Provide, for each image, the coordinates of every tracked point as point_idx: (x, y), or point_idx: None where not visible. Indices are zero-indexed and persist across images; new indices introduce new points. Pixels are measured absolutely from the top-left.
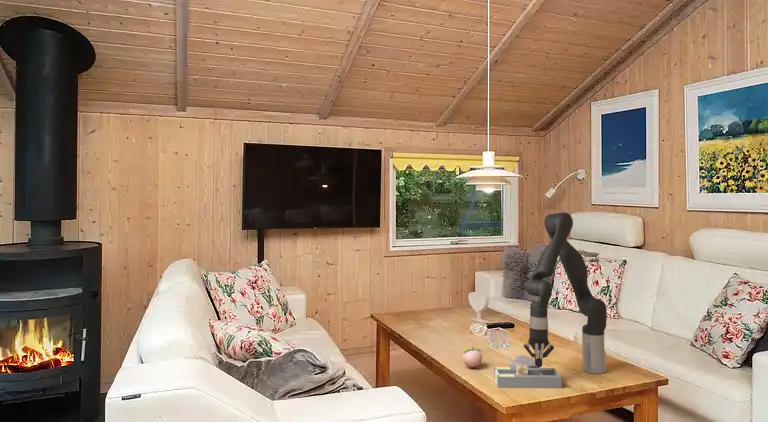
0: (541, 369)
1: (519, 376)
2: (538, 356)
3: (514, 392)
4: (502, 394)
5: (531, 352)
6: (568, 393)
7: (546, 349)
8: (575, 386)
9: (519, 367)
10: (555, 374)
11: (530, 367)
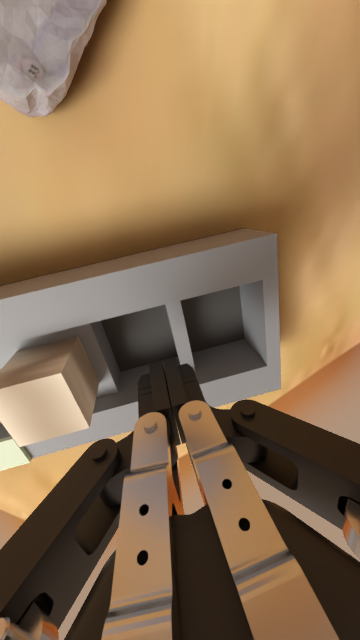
0: (181, 290)
1: (54, 443)
2: (179, 472)
3: (61, 450)
4: (19, 479)
5: (100, 548)
6: (269, 395)
7: (313, 460)
8: (319, 318)
9: (25, 432)
10: (260, 323)
11: (78, 55)
